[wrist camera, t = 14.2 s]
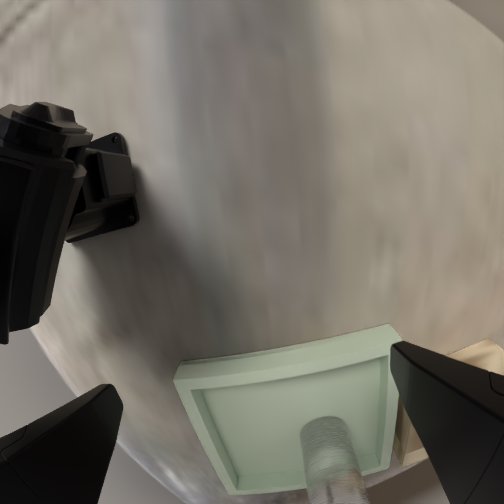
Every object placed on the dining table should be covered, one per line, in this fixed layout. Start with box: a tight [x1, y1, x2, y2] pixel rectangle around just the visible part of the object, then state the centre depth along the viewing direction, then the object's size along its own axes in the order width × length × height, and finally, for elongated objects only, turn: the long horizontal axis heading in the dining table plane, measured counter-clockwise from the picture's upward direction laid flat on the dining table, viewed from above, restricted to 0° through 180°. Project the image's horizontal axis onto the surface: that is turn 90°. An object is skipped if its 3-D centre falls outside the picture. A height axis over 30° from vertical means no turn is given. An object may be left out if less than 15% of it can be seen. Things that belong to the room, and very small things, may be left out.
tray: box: [173, 323, 402, 495], centre depth 22 cm, size 16×16×2 cm
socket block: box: [393, 338, 504, 467], centre depth 21 cm, size 10×10×4 cm
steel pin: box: [300, 416, 370, 504], centre depth 16 cm, size 4×4×13 cm
